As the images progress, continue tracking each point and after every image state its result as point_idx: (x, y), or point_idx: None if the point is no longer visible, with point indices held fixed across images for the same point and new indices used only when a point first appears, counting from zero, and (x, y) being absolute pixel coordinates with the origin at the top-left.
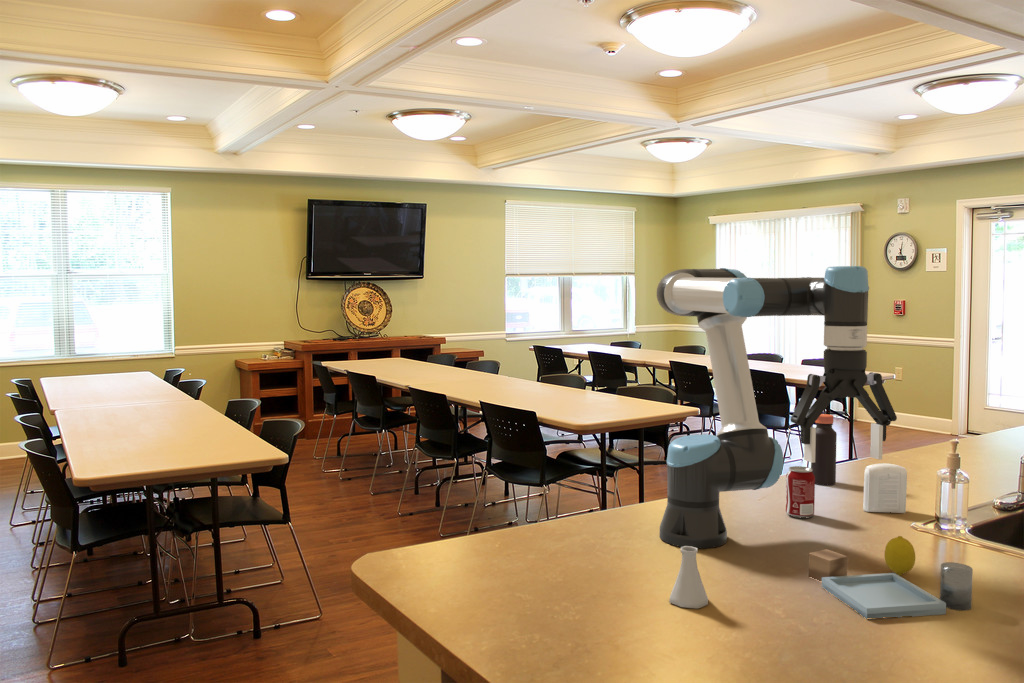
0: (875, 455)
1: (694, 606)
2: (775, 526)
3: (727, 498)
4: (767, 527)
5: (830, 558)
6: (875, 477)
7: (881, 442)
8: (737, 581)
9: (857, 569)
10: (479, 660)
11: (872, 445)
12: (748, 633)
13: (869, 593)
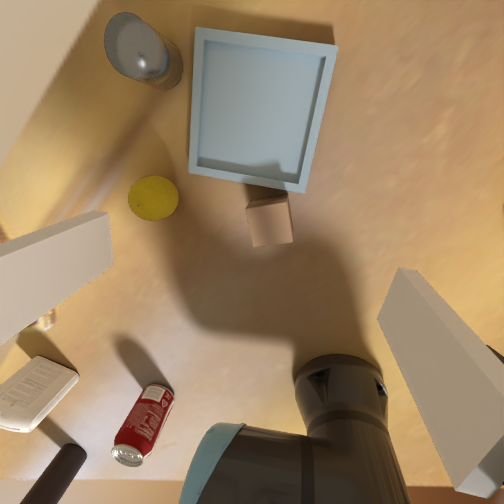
0: (102, 237)
1: None
2: (210, 379)
3: None
4: (222, 380)
5: (277, 210)
6: (32, 408)
7: (34, 234)
8: (400, 250)
9: (208, 230)
10: None
11: (76, 275)
12: None
13: (268, 128)
